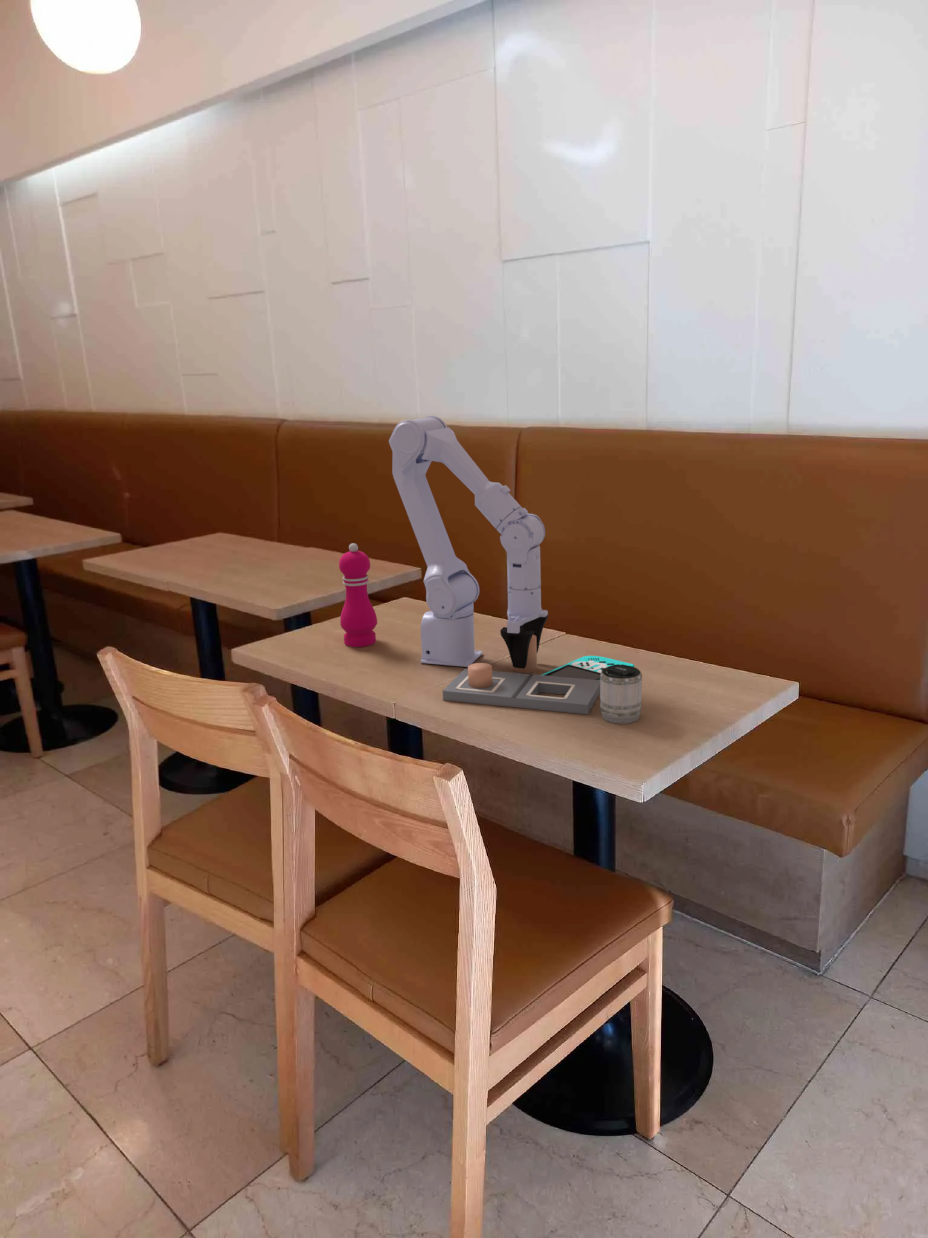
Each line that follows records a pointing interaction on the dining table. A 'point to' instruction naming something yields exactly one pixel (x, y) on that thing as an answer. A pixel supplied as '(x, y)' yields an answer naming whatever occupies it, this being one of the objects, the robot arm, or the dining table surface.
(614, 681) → the camera lens
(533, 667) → the terracotta pin
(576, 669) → the handheld game console
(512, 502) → the robot arm
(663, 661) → the dining table surface
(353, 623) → the pepper mill
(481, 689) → the board
